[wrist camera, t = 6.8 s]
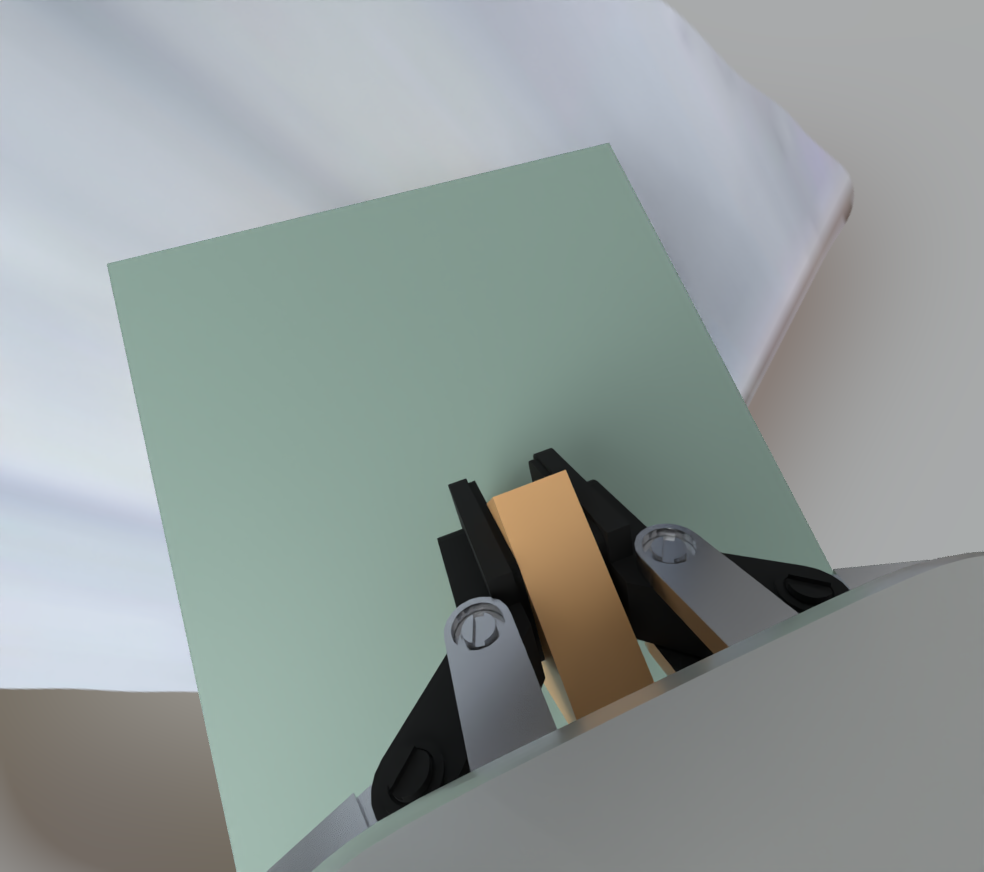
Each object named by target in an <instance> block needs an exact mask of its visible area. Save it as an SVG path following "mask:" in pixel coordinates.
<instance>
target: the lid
mask: <svg viewBox="0 0 984 872" xmlns="http://www.w3.org/2000/svg"><path fill="white" fill-rule="evenodd" d="M107 267H108V271H109V276H110V281H111V285H112V290H113V295H114V299H115V304H116V309H117V313H118V318H119V323H120V328H121V332H122V337H123V342H124V346H125V351H126V356H127V360H128V365H129V370H130V374H131V379H132V384H133V388H134V393H135V398H136V402H137V407H138V412H139V416H140V421H141V426H142V430H143V435H144V440H145V445H146V449H147V454H148V459H149V463H150V468H151V473H152V477H153V482H154V487H155V491H156V496H157V501H158V505H159V510H160V515H161V519H162V524H163V529H164V533H165V538H166V543H167V547H168V552H169V557H170V562H171V566H172V571H173V576H174V580H175V585H176V590H177V594H178V599H179V604H180V608H181V613H182V618H183V622H184V627H185V632H186V636H187V641H188V646H189V650H190V655H191V660H192V664H193V669H194V674H195V679H196V683H197V688H198V693H199V697H200V702H201V706H202V711H203V716H204V720H205V725H206V729H207V735H208V739H209V744H210V749H211V753H212V757H213V762H214V767H215V772H216V777H217V781H218V786H219V791H220V796H221V800H222V805H223V809H224V814H225V819H226V824H227V828H228V833H229V838H230V842H231V847H232V852H233V856H234V861H235V866H236V870H237V872H266V871H268V870H269V869H270V868H271V867H272V866H273V865H274V864H275V863H276V862H277V861H279V860H280V859H281V858H282V857H283V856H284V855H285V854H286V853H287V852H288V851H290V850H291V849H292V848H293V847H294V846H295V845H296V844H297V843H298V842H299V841H301V840H302V839H303V838H304V837H305V836H306V835H307V834H308V833H309V832H311V831H312V830H313V829H314V828H315V827H316V826H317V825H318V824H319V823H320V822H322V821H323V820H324V819H325V818H326V817H327V816H328V815H329V814H330V813H331V812H333V811H334V810H335V809H336V808H337V807H338V806H339V805H340V804H341V803H343V802H344V801H345V800H346V799H347V798H348V797H349V796H350V795H351V794H352V793H354V794H355V795H356V796H357V797H358V796H359V795H360V794H361V793H362V792H363V791H364V790H366V789H367V788H368V787H369V786H370V785H371V784H372V783H373V779H374V774H375V772H376V770H377V768H378V766H379V764H380V762H381V760H382V758H383V756H384V755H385V753H386V751H387V750H388V748H389V746H390V745H391V743H392V742H393V740H394V738H395V737H396V735H397V733H398V732H399V730H400V729H401V727H402V725H403V724H404V722H405V721H406V719H407V717H408V716H409V714H410V712H411V711H412V709H413V708H414V706H415V704H416V703H417V701H418V699H419V698H420V696H421V695H422V693H423V691H424V690H425V688H426V686H427V685H428V683H429V682H430V680H431V678H432V677H433V675H434V673H435V672H436V670H437V669H438V667H439V665H440V664H441V662H442V660H443V659H444V657H445V656H446V654H447V651H446V646H445V641H444V628H445V625H446V622H447V619H448V618H449V616H450V615H451V613H452V612H453V611H454V610H455V609H456V605H455V601H454V598H453V594H452V591H451V587H450V583H449V580H448V576H447V573H446V569H445V566H444V562H443V558H442V555H441V551H440V548H439V544H438V540H437V538H439V537H442V536H444V535H447V534H450V533H452V532H455V531H457V530H460V529H462V527H461V523H460V520H459V517H458V514H457V511H456V508H455V505H454V502H453V499H452V496H451V493H450V490H449V487H448V485H449V484H451V483H454V482H457V481H460V480H462V479H465V478H466V479H467V481H468V483H469V482H472V481H475V482H476V483H477V485H478V487H479V489H480V491H481V493H482V495H483V497H484V499H485V500H486V502H487V506H488V508H489V510H490V512H491V514H492V516H493V518H494V519H495V521H496V523H497V525H498V527H499V529H500V531H501V533H502V535H503V536H504V538H505V540H506V542H507V544H508V546H509V548H510V550H511V552H512V554H513V555H514V557H515V559H516V561H517V564H518V566H519V568H520V571H521V574H522V577H523V580H524V584H525V587H526V591H527V595H528V598H529V602H530V606H531V609H532V613H533V617H534V620H535V624H536V628H537V631H538V635H539V639H540V642H541V646H542V650H543V653H544V657H545V660H544V661H542V662H541V663H542V667H543V670H544V674H545V681H544V683H543V686H542V688H541V690H542V692H543V695H544V697H545V700H546V702H547V705H548V707H549V710H550V712H551V715H552V717H553V720H554V722H555V725H556V727H557V729H559V728H561V727H563V726H565V725H567V724H570V723H572V722H574V721H576V720H578V719H580V718H582V717H584V716H586V715H588V714H590V713H592V712H594V711H596V710H598V709H600V708H602V707H604V706H607V705H609V704H611V703H613V702H615V701H617V700H619V699H621V698H623V697H625V696H627V695H629V694H632V693H634V692H636V691H638V690H640V689H642V688H644V687H646V686H648V685H650V684H652V683H654V682H657V681H659V680H661V679H663V678H665V677H667V675H666V674H665V672H664V671H663V670H662V668H661V667H660V666H659V664H658V663H657V662H656V661H655V659H654V658H653V657H652V655H651V654H650V653H649V651H648V649H647V648H646V646H645V643H644V641H641V640H638V639H636V637H635V634H634V632H633V630H632V627H631V625H630V622H629V620H628V618H627V615H626V613H625V610H624V608H623V606H622V603H621V601H620V598H619V596H618V594H617V591H616V589H615V586H614V584H613V582H612V579H611V577H610V575H609V572H608V570H607V567H606V565H605V563H604V560H603V558H602V555H601V553H600V551H599V548H598V546H597V543H596V541H595V539H594V536H593V534H592V531H591V529H590V527H589V524H588V522H587V519H586V517H585V515H584V512H583V510H582V507H581V505H580V503H579V500H578V498H577V495H576V493H575V491H574V488H573V486H572V484H571V481H570V479H569V476H568V474H567V472H566V470H564V471H561V472H558V473H556V474H553V475H550V476H548V477H545V478H542V479H540V480H537V481H534V482H532V478H531V474H530V469H529V464H528V462H529V461H530V460H533V455H534V454H535V453H538V452H541V451H543V450H546V449H549V448H553V449H554V450H555V451H556V452H557V453H558V454H559V455H560V456H561V457H562V458H563V459H564V460H565V461H566V462H567V463H568V464H569V465H570V466H571V467H572V468H573V469H574V470H575V471H576V472H578V473H579V474H580V475H581V476H582V477H583V478H584V479H585V480H586V481H590V480H592V479H593V480H596V481H598V482H599V483H600V484H601V485H602V486H603V487H605V488H606V489H607V490H608V491H609V492H610V493H611V494H612V495H613V496H614V497H615V498H616V499H617V500H619V501H620V502H621V503H622V504H623V505H624V506H625V507H626V508H627V509H628V510H629V511H630V512H631V513H632V514H634V515H635V516H636V517H637V518H638V519H639V520H640V521H641V522H642V523H643V524H644V525H645V526H646V527H649V526H653V525H656V524H676V525H680V526H683V527H686V528H688V529H690V530H692V531H693V532H695V533H696V534H698V535H699V536H700V537H702V538H703V539H704V540H705V541H707V542H708V543H709V544H710V545H712V546H713V547H714V548H716V549H717V550H718V551H719V552H721V553H727V554H734V555H740V556H746V557H753V558H759V559H765V560H772V561H778V562H784V563H791V564H797V565H803V566H808V567H812V568H816V569H819V570H821V571H824V572H826V573H828V574H831V575H832V574H833V571H832V569H831V567H830V565H829V563H828V561H827V559H826V557H825V555H824V553H823V552H822V550H821V548H820V546H819V544H818V542H817V540H816V538H815V536H814V534H813V532H812V531H811V529H810V527H809V525H808V523H807V521H806V519H805V517H804V515H803V513H802V511H801V509H800V508H799V506H798V504H797V502H796V500H795V498H794V496H793V494H792V492H791V490H790V488H789V486H788V485H787V483H786V481H785V479H784V477H783V475H782V473H781V471H780V469H779V468H778V466H777V464H776V462H775V460H774V458H773V456H772V454H771V452H770V450H769V448H768V446H767V445H766V443H765V441H764V439H763V437H762V435H761V433H760V431H759V429H758V427H757V425H756V423H755V421H754V420H753V418H752V416H751V414H750V412H749V410H748V408H747V406H746V404H745V402H744V400H743V399H742V397H741V395H740V393H739V391H738V389H737V387H736V385H735V383H734V381H733V379H732V377H731V376H730V374H729V372H728V370H727V368H726V366H725V364H724V362H723V360H722V358H721V356H720V355H719V353H718V351H717V349H716V347H715V345H714V343H713V341H712V339H711V337H710V335H709V333H708V332H707V330H706V328H705V326H704V324H703V322H702V320H701V318H700V316H699V314H698V312H697V311H696V309H695V307H694V305H693V303H692V301H691V299H690V297H689V295H688V293H687V291H686V289H685V288H684V286H683V284H682V282H681V280H680V278H679V276H678V274H677V272H676V270H675V268H674V267H673V265H672V263H671V261H670V259H669V257H668V255H667V253H666V251H665V249H664V247H663V246H662V244H661V242H660V240H659V238H658V236H657V234H656V232H655V230H654V228H653V226H652V224H651V223H650V221H649V219H648V217H647V215H646V213H645V211H644V209H643V207H642V205H641V203H640V202H639V200H638V198H637V196H636V194H635V192H634V190H633V188H632V186H631V184H630V182H629V180H628V179H627V177H626V175H625V173H624V171H623V169H622V167H621V165H620V163H619V161H618V159H617V158H616V156H615V154H614V152H613V150H612V148H611V146H610V144H609V143H606V144H602V145H598V146H594V147H589V148H585V149H581V150H577V151H573V152H569V153H565V154H560V155H556V156H552V157H548V158H544V159H540V160H536V161H531V162H527V163H523V164H519V165H515V166H511V167H507V168H502V169H498V170H494V171H490V172H486V173H482V174H478V175H473V176H469V177H465V178H461V179H457V180H453V181H449V182H444V183H440V184H436V185H432V186H428V187H424V188H419V189H415V190H411V191H407V192H403V193H399V194H395V195H390V196H386V197H382V198H378V199H374V200H370V201H366V202H361V203H357V204H353V205H349V206H345V207H341V208H337V209H332V210H328V211H324V212H320V213H316V214H312V215H308V216H303V217H299V218H295V219H291V220H287V221H283V222H279V223H274V224H270V225H266V226H262V227H258V228H254V229H249V230H245V231H241V232H237V233H233V234H229V235H225V236H220V237H216V238H212V239H208V240H204V241H200V242H196V243H191V244H187V245H183V246H179V247H175V248H171V249H167V250H162V251H158V252H154V253H150V254H146V255H142V256H138V257H133V258H129V259H125V260H121V261H117V262H113V263H109V264H107Z"/></svg>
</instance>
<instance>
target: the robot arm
mask: <svg viewBox="0 0 984 872" xmlns="http://www.w3.org/2000/svg"><path fill="white" fill-rule="evenodd" d="M528 464H529V469H530V474H531V478H532V482H534V481H537V480H540V479H542V478H545V477H548V476H550V475H553V474H556V473H558V472H561V471H564V470H566V472H567V474H568V476H569V479H570V481H571V484H572V486H573V488H574V491H575V493H576V495H577V498H578V500H579V503H580V505H581V507H582V510H583V512H584V515H585V517H586V519H587V522H588V524H589V527H590V529H591V531H592V534H593V536H594V539H595V541H596V543H597V546H598V548H599V551H600V553H601V555H602V558H603V560H604V563H605V565H606V567H607V570H608V572H609V575H610V577H611V579H612V582H613V584H614V586H615V589H616V591H617V594H618V596H619V598H620V601H621V603H622V606H623V608H624V610H625V613H626V615H627V618H628V620H629V622H630V625H631V627H632V630H633V632H634V634H635V637H636V639H638V640H641V641H644V643H645V646H646V648H647V649H648V651H649V653H650V654H651V655H652V657H653V658H654V659H655V661H656V662H657V663H658V664H659V666H660V667H661V668H662V670H663V671H664V672H665V674H666V675H667V677H665V678H663V679H661V680H659V681H657V682H654V683H652V684H650V685H648V686H646V687H644V688H642V689H640V690H638V691H636V692H634V693H632V694H629V695H627V696H625V697H623V698H621V699H619V700H617V701H615V702H613V703H611V704H609V705H607V706H604V707H602V708H600V709H598V710H596V711H594V712H592V713H590V714H588V715H586V716H584V717H582V718H580V719H578V720H576V721H574V722H572V723H570V724H567V725H565V726H563V727H561V728H559V729H557V727H556V725H555V722H554V720H553V717H552V715H551V712H550V710H549V707H548V705H547V702H546V700H545V697H544V695H543V692H542V690H541V688H542V686H543V683H544V681H545V674H544V670H543V667H542V663H541V662H542V661H544V660H545V657H544V653H543V650H542V646H541V642H540V639H539V635H538V631H537V628H536V624H535V620H534V617H533V613H532V609H531V606H530V602H529V598H528V595H527V591H526V587H525V584H524V580H523V577H522V574H521V571H520V568H519V566H518V564H517V561H516V559H515V557H514V555H513V554H512V552H511V550H510V548H509V546H508V544H507V542H506V540H505V538H504V536H503V535H502V533H501V531H500V529H499V527H498V525H497V523H496V521H495V519H494V518H493V516H492V514H491V512H490V510H489V508H488V506H487V502H486V500H485V499H484V497H483V495H482V493H481V491H480V489H479V487H478V485H477V483H476V482H475V481H472V482H469V483H468V481H467V479H466V478H465V479H462V480H460V481H457V482H454V483H451V484H449V485H448V487H449V490H450V493H451V496H452V499H453V502H454V505H455V508H456V511H457V514H458V517H459V520H460V523H461V527H462V529H460V530H457V531H455V532H452V533H450V534H447V535H444V536H442V537H439V538H437V540H438V544H439V548H440V551H441V555H442V558H443V562H444V566H445V569H446V573H447V576H448V580H449V583H450V587H451V591H452V594H453V598H454V601H455V605H456V609H455V610H454V611H453V612H452V613H451V615H450V616H449V618H448V619H447V622H446V625H445V628H444V641H445V646H446V651H447V654H446V656H445V657H444V659H443V660H442V662H441V664H440V665H439V667H438V669H437V670H436V672H435V673H434V675H433V677H432V678H431V680H430V682H429V683H428V685H427V686H426V688H425V690H424V691H423V693H422V695H421V696H420V698H419V699H418V701H417V703H416V704H415V706H414V708H413V709H412V711H411V712H410V714H409V716H408V717H407V719H406V721H405V722H404V724H403V725H402V727H401V729H400V730H399V732H398V733H397V735H396V737H395V738H394V740H393V742H392V743H391V745H390V746H389V748H388V750H387V751H386V753H385V755H384V756H383V758H382V760H381V762H380V764H379V766H378V768H377V770H376V772H375V774H374V779H373V783H372V784H371V785H370V786H369V787H368V788H367V789H366V790H364V791H363V792H362V793H361V794H360V795H359V796H358V797H357V796H356V795H355V794H354V793H352V794H351V795H350V796H349V797H348V798H347V799H346V800H345V801H344V802H343V803H341V804H340V805H339V806H338V807H337V808H336V809H335V810H334V811H333V812H331V813H330V814H329V815H328V816H327V817H326V818H325V819H324V820H323V821H322V822H320V823H319V824H318V825H317V826H316V827H315V828H314V829H313V830H312V831H311V832H309V833H308V834H307V835H306V836H305V837H304V838H303V839H302V840H301V841H299V842H298V843H297V844H296V845H295V846H294V847H293V848H292V849H291V850H290V851H288V852H287V853H286V854H285V855H284V856H283V857H282V858H281V859H280V860H279V861H277V862H276V863H275V864H274V865H273V866H272V867H271V868H270V869H269V870H268V871H266V872H984V552H972V553H964V554H959V555H953V556H947V557H942V558H937V559H933V560H922V561H911V562H901V563H891V564H880V565H870V566H861V567H850V568H841V569H833V574H832V575H831V574H828V573H826V572H824V571H821V570H819V569H816V568H812V567H808V566H803V565H797V564H791V563H784V562H778V561H772V560H765V559H759V558H753V557H746V556H740V555H734V554H727V553H721V552H719V551H718V550H717V549H716V548H714V547H713V546H712V545H710V544H709V543H708V542H707V541H705V540H704V539H703V538H702V537H700V536H699V535H698V534H696V533H695V532H693V531H692V530H690V529H688V528H686V527H683V526H680V525H676V524H656V525H653V526H649V527H646V526H645V525H644V524H643V523H642V522H641V521H640V520H639V519H638V518H637V517H636V516H635V515H634V514H632V513H631V512H630V511H629V510H628V509H627V508H626V507H625V506H624V505H623V504H622V503H621V502H620V501H619V500H617V499H616V498H615V497H614V496H613V495H612V494H611V493H610V492H609V491H608V490H607V489H606V488H605V487H603V486H602V485H601V484H600V483H599V482H598V481H596V480H593V479H592V480H590V481H586V480H585V479H584V478H583V477H582V476H581V475H580V474H579V473H578V472H576V471H575V470H574V469H573V468H572V467H571V466H570V465H569V464H568V463H567V462H566V461H565V460H564V459H563V458H562V457H561V456H560V455H559V454H558V453H557V452H556V451H555V450H554V449H553V448H549V449H546V450H543V451H541V452H538V453H535V454H534V455H533V460H530V461H529V462H528Z"/></svg>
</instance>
